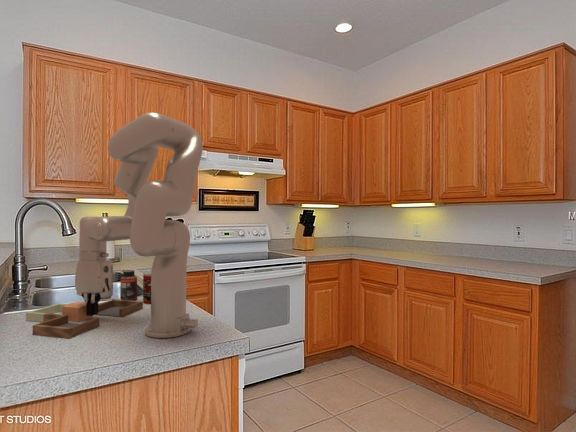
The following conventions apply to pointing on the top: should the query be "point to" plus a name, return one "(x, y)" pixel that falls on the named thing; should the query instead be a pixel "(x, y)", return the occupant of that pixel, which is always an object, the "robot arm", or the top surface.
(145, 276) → the canned food
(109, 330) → the top surface
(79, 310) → the block
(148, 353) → the top surface
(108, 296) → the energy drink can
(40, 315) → the box
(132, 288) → the supplement bottle
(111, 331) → the top surface
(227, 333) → the top surface
